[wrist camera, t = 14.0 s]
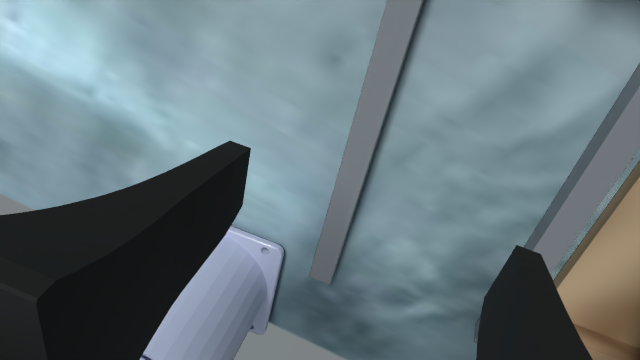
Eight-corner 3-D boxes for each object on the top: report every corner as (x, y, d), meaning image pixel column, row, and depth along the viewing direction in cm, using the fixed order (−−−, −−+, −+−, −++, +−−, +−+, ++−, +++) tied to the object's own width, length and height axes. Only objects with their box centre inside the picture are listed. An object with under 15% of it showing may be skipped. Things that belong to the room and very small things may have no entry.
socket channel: (315, 262, 29) (308, 277, 29) (410, -69, 19) (405, -63, 18) (497, 332, 28) (496, 350, 27) (711, 19, 17) (721, 31, 17)
